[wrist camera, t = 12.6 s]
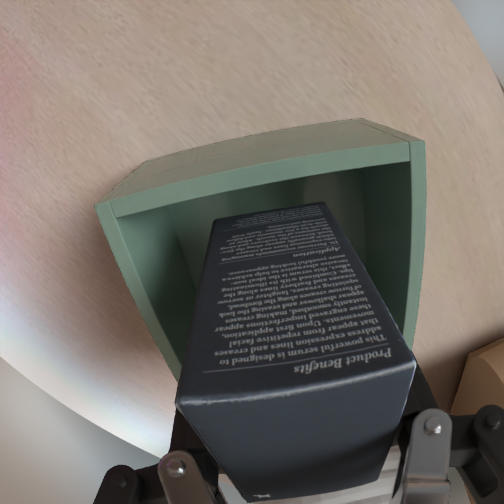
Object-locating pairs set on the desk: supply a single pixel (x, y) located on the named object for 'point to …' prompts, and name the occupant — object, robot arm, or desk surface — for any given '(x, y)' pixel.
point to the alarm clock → (481, 383)
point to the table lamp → (356, 488)
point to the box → (292, 357)
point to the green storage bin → (267, 198)
